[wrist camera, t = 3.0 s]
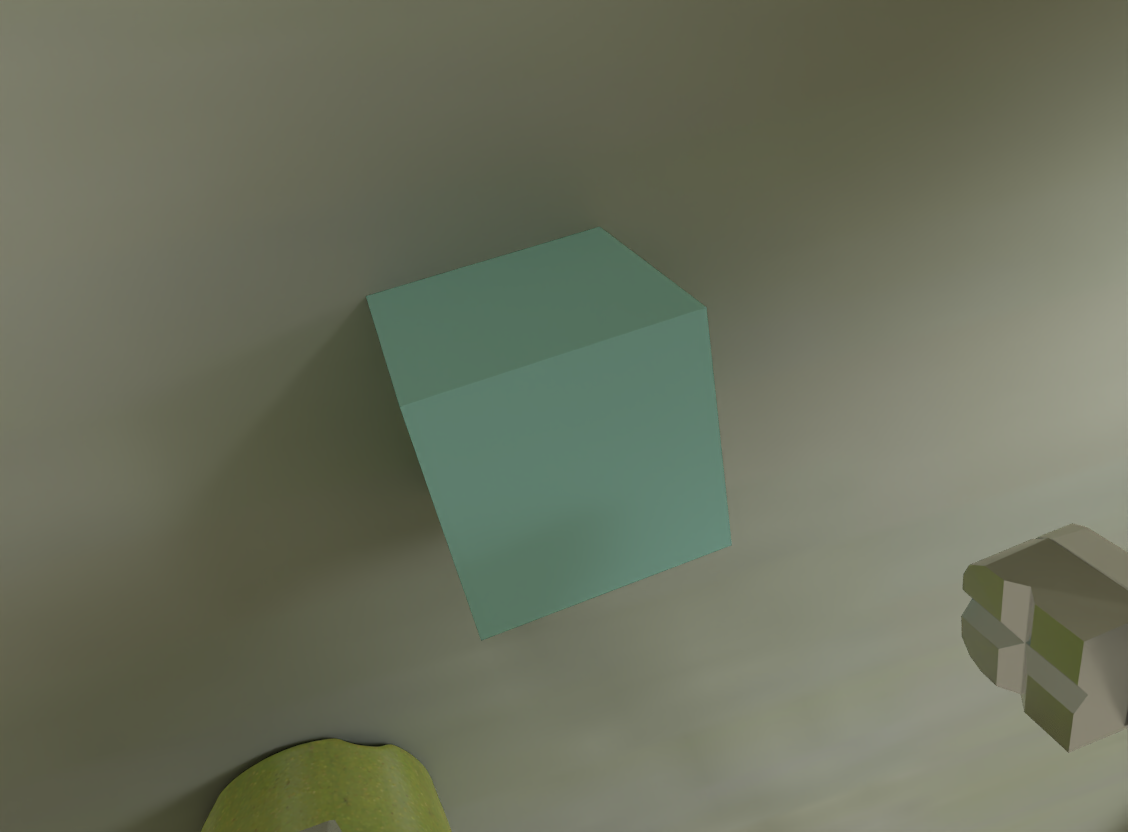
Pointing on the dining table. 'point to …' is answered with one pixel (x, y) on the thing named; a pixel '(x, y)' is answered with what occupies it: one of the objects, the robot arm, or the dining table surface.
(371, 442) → the dining table surface
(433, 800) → the plant pot
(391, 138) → the dining table surface
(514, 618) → the teal block
